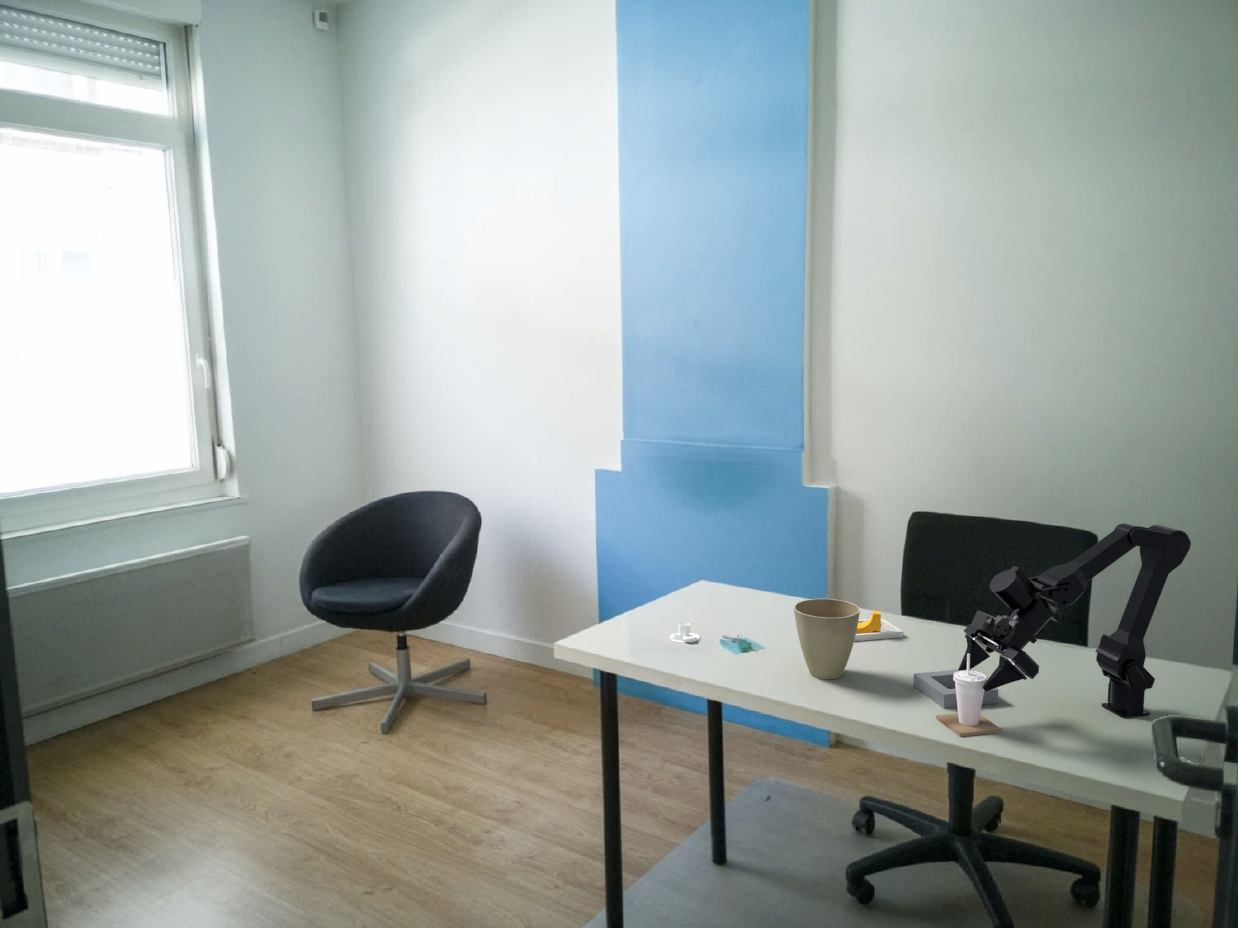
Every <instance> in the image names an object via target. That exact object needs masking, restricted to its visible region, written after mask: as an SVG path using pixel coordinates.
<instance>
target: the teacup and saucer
mask: <svg viewBox="0 0 1238 928" xmlns="http://www.w3.org/2000/svg"><path fill="white" fill-rule="evenodd" d="M677 625H678V626H677V627H678V632H676V633H672V634H670V635H669V639H670V638H671V639H670V640H671V641H673V642H677V643H694V642H697V641H699V640H700V638H701V637H700V635H699V634H697V633H693V632H691V623H689V622H679V623H678V624H677ZM675 634H677V635H676V636H679V638H680V639H681V640H677V639H675V638H674V637H676V636H675ZM672 638H674V639H672Z"/></svg>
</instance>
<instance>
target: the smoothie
mask: <svg viewBox="0 0 1238 928" xmlns="http://www.w3.org/2000/svg"><path fill="white" fill-rule="evenodd" d="M953 680H954V681H955V687H954V688H955V689H956V697H957V707H956V708H957V713H958V717H959V722H960V723H961V724H964V725H968V726H975V725H978V724H979V718H980V714H981V711H982V705H983V704H982V701H983V695H984V689H983V688H982V687H983V685H984V684H985V682H986V681H987V680H988V677H987V675H986V674H984V673H983V672H979V671H975V670H970V654H967V670H962V671H957V672H955V673H954V677H953Z"/></svg>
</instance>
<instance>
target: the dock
mask: <svg viewBox="0 0 1238 928" xmlns="http://www.w3.org/2000/svg"><path fill="white" fill-rule="evenodd" d="M958 669H959V668H958ZM958 669H957V668H956V669H948V670H947V669H946V670H937V671H936V670H935V671H927V672H915V673H913V685H912V686H913V687H914V688H915V689H916V690H918V691H919V692H920V693H922V694H923V695H925V696H926V697H928V698H929V699H930V700H932V701H933V702H934V703H936V705H938V706H939V707H940V708H942V709H950V708H958V707H957V697H956V687H955V681H954V680H953V677H954V673H955V672H957V671H958ZM998 703H999V688H998V687H997V688H995V689H992V690H989V691H985V690H984V695H983V701H982V705H991V704H998Z"/></svg>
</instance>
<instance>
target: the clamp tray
mask: <svg viewBox="0 0 1238 928" xmlns="http://www.w3.org/2000/svg"><path fill="white" fill-rule="evenodd" d="M869 619H870V618H864V619H859V620H858V623H862V622H864V621H868V620H869ZM881 627H883V628H884V629H886V630H887V631H880V632H875V633H863V634H856V636H855V640H854V642H860V641H861V642H862V641H870V640H871V641H874V640H884V639H885V640H887V639H895V638H896V639H897V638H904V631H903V630H902V629H900V628H899V627H896V626H895V625H894V624H892V623H891V622H889V621H887V620H885V619H884V618H883V617H881Z"/></svg>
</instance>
